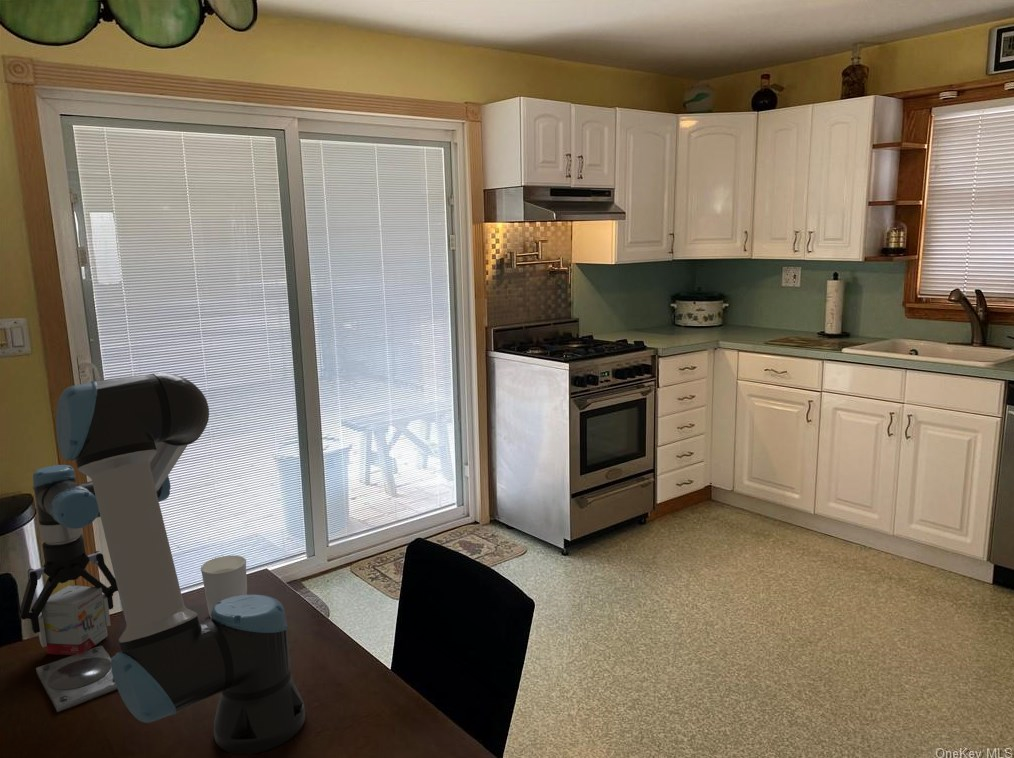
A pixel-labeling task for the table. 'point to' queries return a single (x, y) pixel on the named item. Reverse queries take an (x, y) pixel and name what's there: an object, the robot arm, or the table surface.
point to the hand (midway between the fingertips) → (76, 634)
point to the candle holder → (224, 579)
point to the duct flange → (77, 678)
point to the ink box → (74, 620)
